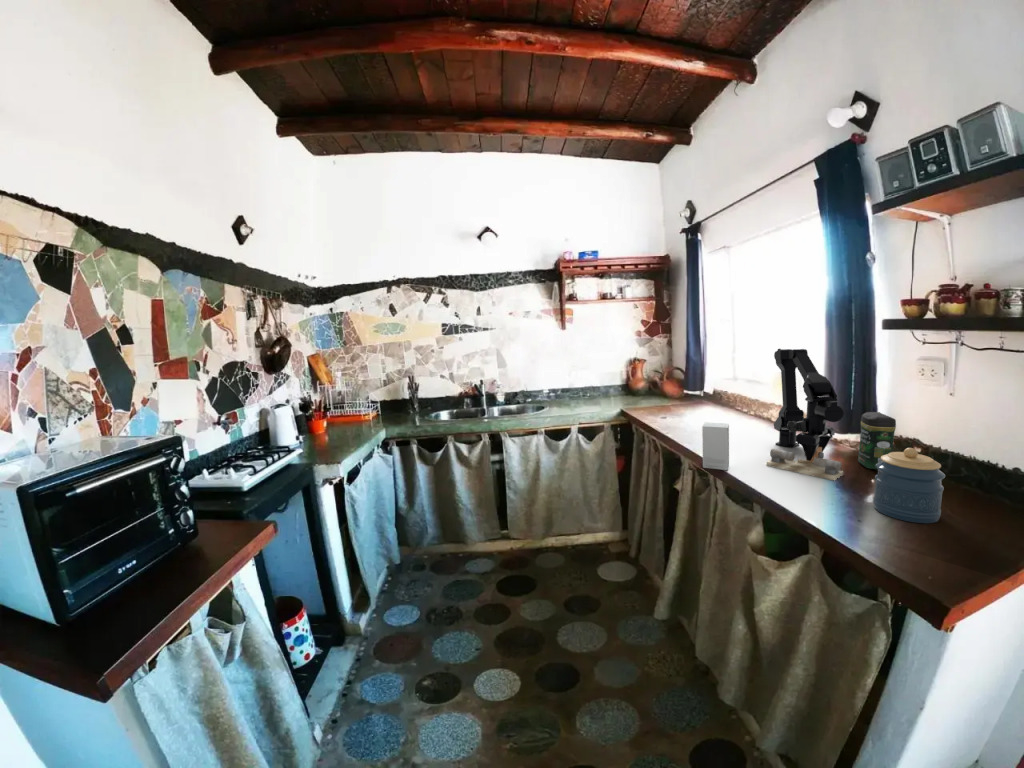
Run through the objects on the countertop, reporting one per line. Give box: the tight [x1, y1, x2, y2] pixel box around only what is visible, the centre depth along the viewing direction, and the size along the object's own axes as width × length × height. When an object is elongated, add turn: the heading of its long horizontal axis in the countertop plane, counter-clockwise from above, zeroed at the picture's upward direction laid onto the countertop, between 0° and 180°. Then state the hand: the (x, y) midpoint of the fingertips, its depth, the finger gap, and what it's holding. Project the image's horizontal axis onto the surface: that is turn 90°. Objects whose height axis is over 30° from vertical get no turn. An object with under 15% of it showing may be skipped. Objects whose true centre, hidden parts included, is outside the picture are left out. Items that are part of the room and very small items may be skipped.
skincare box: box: [701, 421, 730, 471], centre depth 147 cm, size 8×7×16 cm
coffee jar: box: [857, 411, 897, 471], centre depth 140 cm, size 10×8×19 cm
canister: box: [872, 447, 946, 524], centre depth 108 cm, size 13×13×18 cm
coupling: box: [804, 447, 825, 462], centre depth 149 cm, size 5×5×5 cm
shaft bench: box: [766, 448, 845, 481], centre depth 141 cm, size 20×8×5 cm, turn 35°
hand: (813, 457), depth 149 cm, fingers open, 9 cm apart
